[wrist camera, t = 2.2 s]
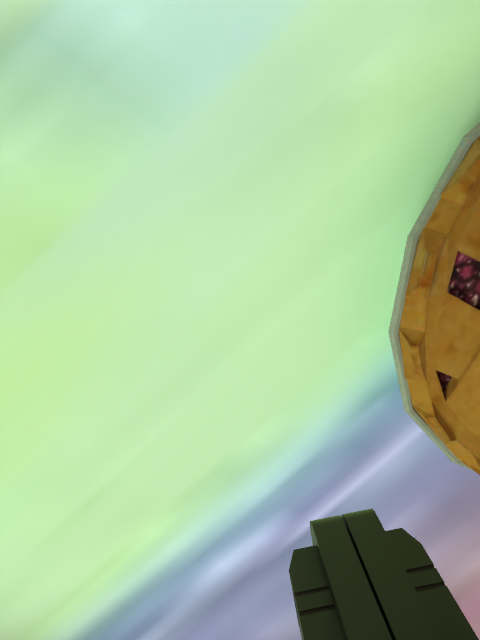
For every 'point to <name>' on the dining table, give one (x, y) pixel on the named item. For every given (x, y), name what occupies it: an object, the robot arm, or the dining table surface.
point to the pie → (444, 311)
